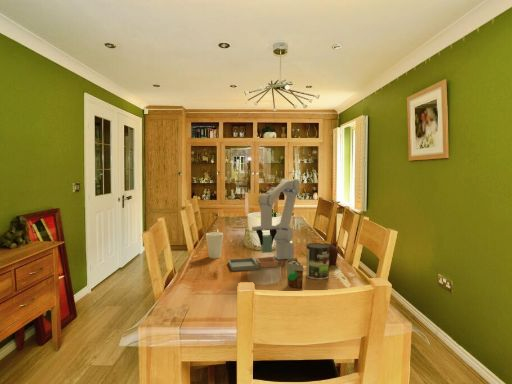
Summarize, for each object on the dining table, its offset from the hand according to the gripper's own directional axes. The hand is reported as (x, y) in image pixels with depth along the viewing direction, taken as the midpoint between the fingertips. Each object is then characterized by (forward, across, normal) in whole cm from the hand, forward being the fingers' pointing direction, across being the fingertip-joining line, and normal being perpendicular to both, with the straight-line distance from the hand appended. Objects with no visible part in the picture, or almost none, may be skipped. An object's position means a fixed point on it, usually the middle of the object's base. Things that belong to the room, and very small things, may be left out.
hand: (266, 244), depth 170 cm
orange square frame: (+10, 0, 0) cm, 10 cm away
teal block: (+3, 0, 0) cm, 3 cm away
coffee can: (+10, +18, -23) cm, 31 cm away
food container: (+10, +3, -32) cm, 34 cm away
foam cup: (+10, -24, +21) cm, 34 cm away
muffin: (+11, +31, -5) cm, 33 cm away
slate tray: (+10, -12, 0) cm, 16 cm away
